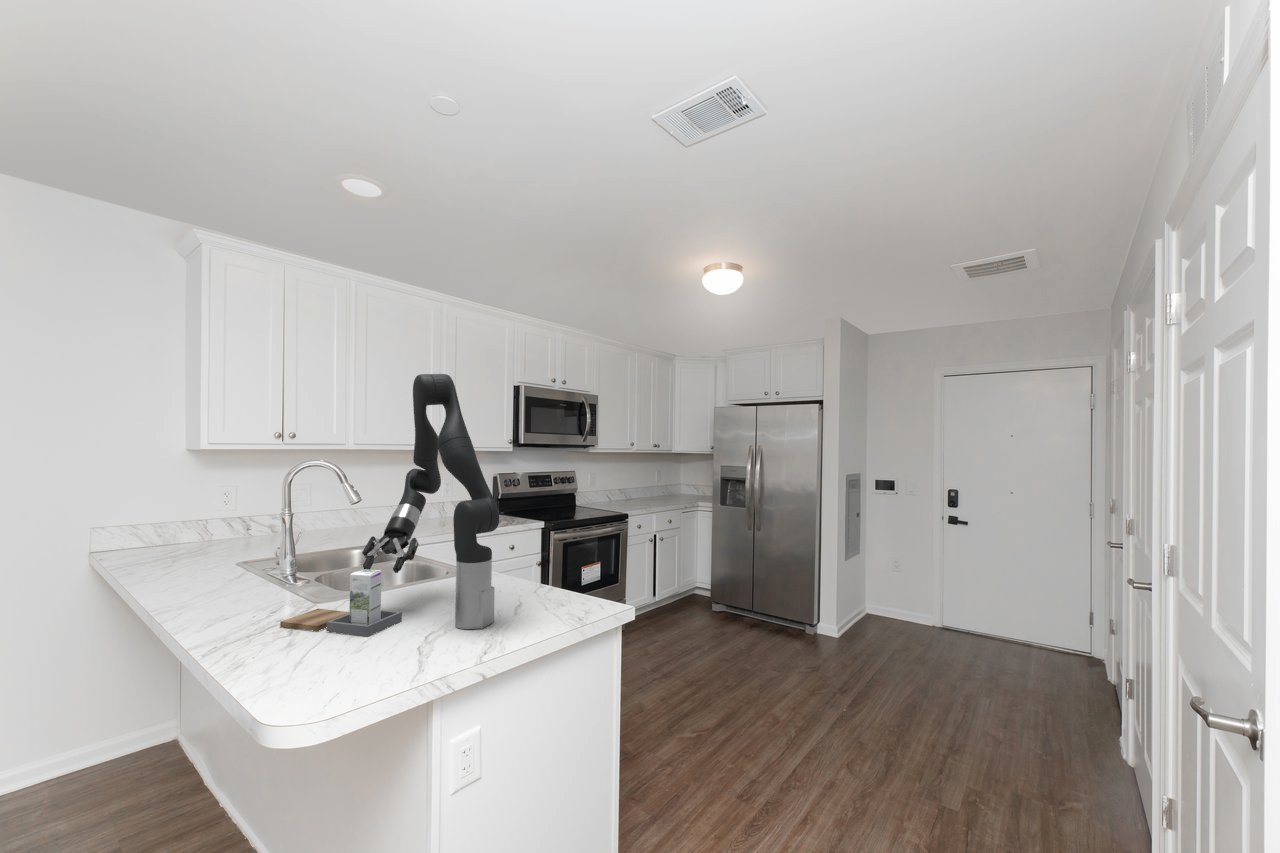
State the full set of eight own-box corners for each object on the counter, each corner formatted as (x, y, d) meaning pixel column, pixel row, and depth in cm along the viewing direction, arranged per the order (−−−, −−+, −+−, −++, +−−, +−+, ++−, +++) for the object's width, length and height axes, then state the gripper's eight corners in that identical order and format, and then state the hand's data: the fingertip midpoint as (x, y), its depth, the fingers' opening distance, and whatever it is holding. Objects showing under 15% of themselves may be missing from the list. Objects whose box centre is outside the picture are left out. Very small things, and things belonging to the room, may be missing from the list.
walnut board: (352, 617, 155) (353, 612, 155) (317, 631, 143) (317, 625, 143) (317, 613, 158) (318, 608, 158) (280, 627, 147) (280, 621, 147)
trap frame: (401, 621, 152) (401, 612, 152) (367, 636, 140) (367, 626, 140) (363, 617, 156) (363, 608, 156) (326, 631, 144) (326, 621, 144)
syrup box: (381, 623, 151) (382, 569, 151) (368, 630, 145) (370, 574, 145) (361, 622, 151) (362, 568, 152) (347, 629, 145) (349, 573, 146)
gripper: (375, 514, 164) (350, 562, 153) (421, 515, 163) (400, 564, 151) (385, 530, 169) (361, 577, 158) (430, 531, 168) (409, 579, 156)
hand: (380, 570), depth 154 cm, fingers open, 8 cm apart
